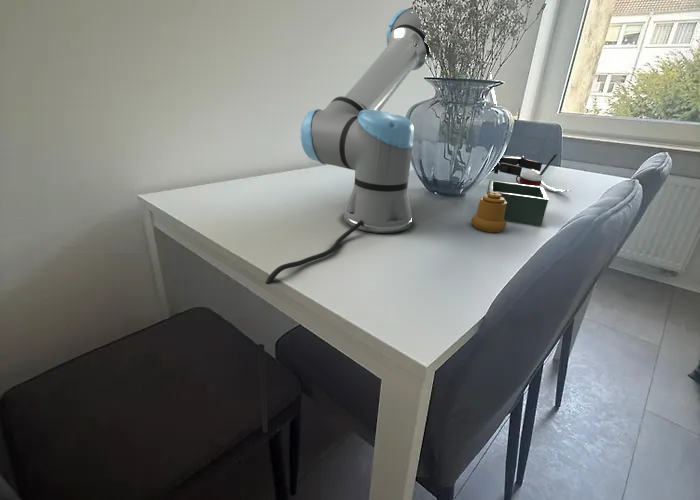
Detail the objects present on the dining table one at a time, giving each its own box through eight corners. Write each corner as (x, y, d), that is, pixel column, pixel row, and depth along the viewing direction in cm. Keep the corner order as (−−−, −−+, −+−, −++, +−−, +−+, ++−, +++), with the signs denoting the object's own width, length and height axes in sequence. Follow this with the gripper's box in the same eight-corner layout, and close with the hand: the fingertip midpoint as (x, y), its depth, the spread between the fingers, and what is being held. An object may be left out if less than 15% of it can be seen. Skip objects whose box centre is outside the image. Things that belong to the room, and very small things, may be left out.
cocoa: (510, 186, 125) (519, 148, 120) (525, 185, 127) (534, 148, 122) (534, 195, 117) (544, 155, 112) (549, 193, 120) (560, 154, 115)
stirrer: (578, 183, 117) (566, 184, 115) (575, 195, 118) (563, 195, 117) (531, 171, 134) (519, 172, 133) (529, 182, 136) (517, 182, 134)
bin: (541, 226, 92) (548, 199, 89) (483, 217, 96) (489, 191, 93) (536, 211, 102) (543, 187, 100) (484, 203, 106) (489, 180, 103)
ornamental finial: (500, 236, 85) (466, 228, 88) (507, 226, 90) (475, 219, 94) (509, 201, 81) (473, 194, 85) (515, 193, 87) (482, 187, 91)
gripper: (488, 163, 144) (545, 176, 130) (448, 171, 129) (508, 186, 114) (492, 142, 141) (551, 153, 127) (452, 148, 125) (514, 160, 111)
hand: (531, 169), depth 120 cm, fingers open, 13 cm apart
